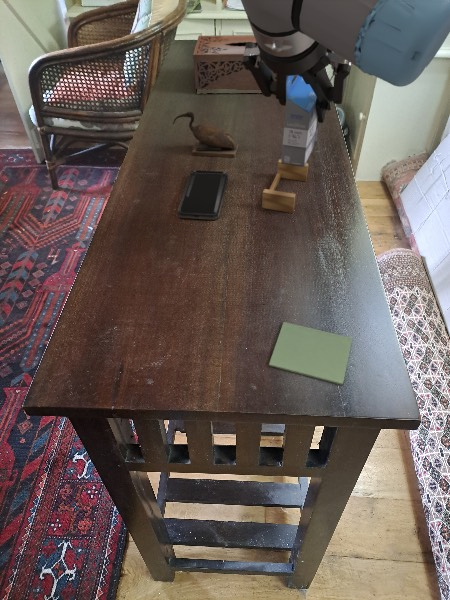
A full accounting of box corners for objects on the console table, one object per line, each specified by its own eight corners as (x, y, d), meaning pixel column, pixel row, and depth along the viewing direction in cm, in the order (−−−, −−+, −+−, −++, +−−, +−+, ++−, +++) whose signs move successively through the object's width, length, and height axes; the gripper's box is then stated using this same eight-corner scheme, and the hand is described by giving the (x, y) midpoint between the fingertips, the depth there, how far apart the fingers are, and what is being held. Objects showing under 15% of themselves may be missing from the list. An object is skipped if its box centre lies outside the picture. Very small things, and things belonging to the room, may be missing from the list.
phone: (228, 171, 94) (217, 215, 84) (228, 176, 95) (218, 220, 85) (190, 170, 95) (175, 213, 85) (191, 175, 96) (176, 217, 86)
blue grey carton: (305, 168, 68) (314, 83, 59) (279, 164, 69) (285, 79, 60) (317, 140, 74) (328, 59, 65) (294, 137, 75) (301, 56, 66)
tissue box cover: (196, 94, 124) (193, 54, 116) (201, 73, 133) (198, 35, 126) (292, 93, 122) (295, 53, 115) (289, 72, 132) (292, 34, 125)
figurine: (173, 154, 102) (168, 116, 96) (178, 144, 105) (174, 106, 99) (235, 157, 100) (234, 119, 94) (238, 147, 103) (238, 109, 97)
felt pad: (351, 339, 65) (352, 337, 65) (342, 385, 60) (343, 383, 60) (283, 323, 67) (283, 321, 67) (268, 366, 62) (268, 364, 62)
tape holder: (307, 178, 94) (308, 163, 91) (292, 213, 86) (294, 197, 83) (278, 174, 95) (279, 158, 93) (262, 207, 87) (262, 192, 85)
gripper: (206, 53, 50) (251, 129, 73) (362, 67, 46) (358, 143, 69) (221, -16, 50) (261, 82, 73) (379, -8, 46) (369, 93, 68)
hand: (308, 112), depth 71 cm, fingers closed on blue grey carton, 4 cm apart
